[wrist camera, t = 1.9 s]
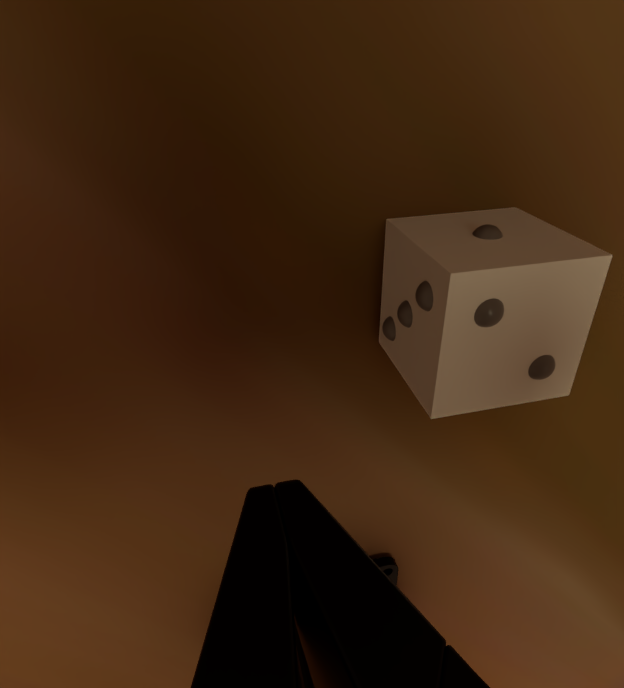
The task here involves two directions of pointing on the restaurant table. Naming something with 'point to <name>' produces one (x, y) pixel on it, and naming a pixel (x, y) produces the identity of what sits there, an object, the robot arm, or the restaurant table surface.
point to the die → (486, 307)
